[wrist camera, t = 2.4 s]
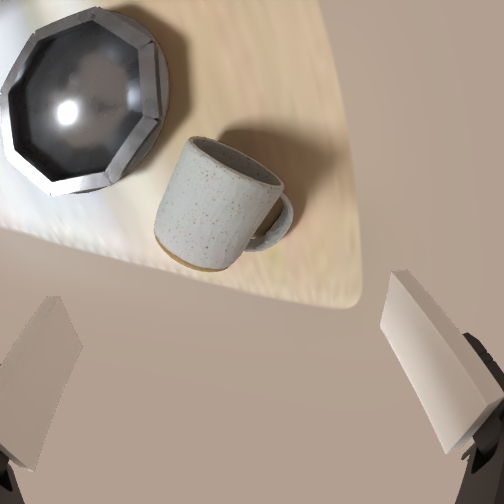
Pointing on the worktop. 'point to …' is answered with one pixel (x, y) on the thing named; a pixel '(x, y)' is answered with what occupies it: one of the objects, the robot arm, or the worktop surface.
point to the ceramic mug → (218, 206)
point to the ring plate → (84, 101)
